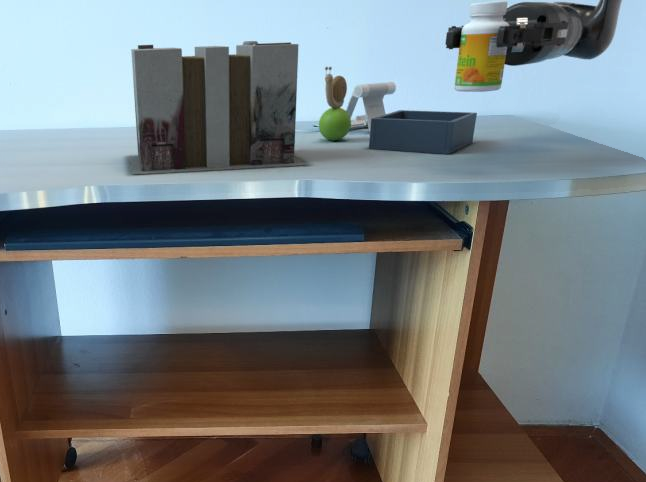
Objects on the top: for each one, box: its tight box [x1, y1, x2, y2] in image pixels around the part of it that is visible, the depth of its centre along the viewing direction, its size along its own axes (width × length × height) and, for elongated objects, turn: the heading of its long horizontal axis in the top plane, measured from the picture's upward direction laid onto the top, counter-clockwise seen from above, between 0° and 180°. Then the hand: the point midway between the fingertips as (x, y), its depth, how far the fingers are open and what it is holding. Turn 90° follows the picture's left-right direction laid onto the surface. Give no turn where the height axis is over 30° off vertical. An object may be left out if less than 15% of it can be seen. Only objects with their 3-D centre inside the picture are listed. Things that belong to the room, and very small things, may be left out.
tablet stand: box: [344, 81, 397, 133], centre depth 119 cm, size 9×8×8 cm
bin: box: [368, 109, 478, 155], centre depth 102 cm, size 13×13×5 cm
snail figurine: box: [318, 66, 352, 142], centre depth 108 cm, size 5×6×12 cm
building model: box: [129, 40, 308, 175], centre depth 94 cm, size 16×25×16 cm, turn 96°
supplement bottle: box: [454, 0, 509, 93], centre depth 78 cm, size 5×5×10 cm
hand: (475, 37), depth 76 cm, fingers closed on supplement bottle, 5 cm apart
